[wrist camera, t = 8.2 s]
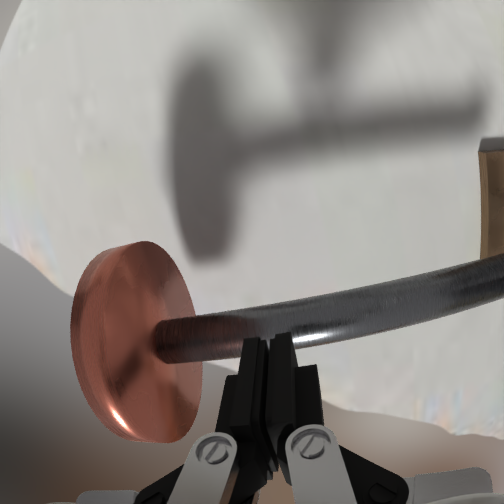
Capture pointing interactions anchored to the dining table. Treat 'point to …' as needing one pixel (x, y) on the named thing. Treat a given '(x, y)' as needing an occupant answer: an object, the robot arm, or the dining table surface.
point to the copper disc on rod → (223, 330)
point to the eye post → (492, 202)
